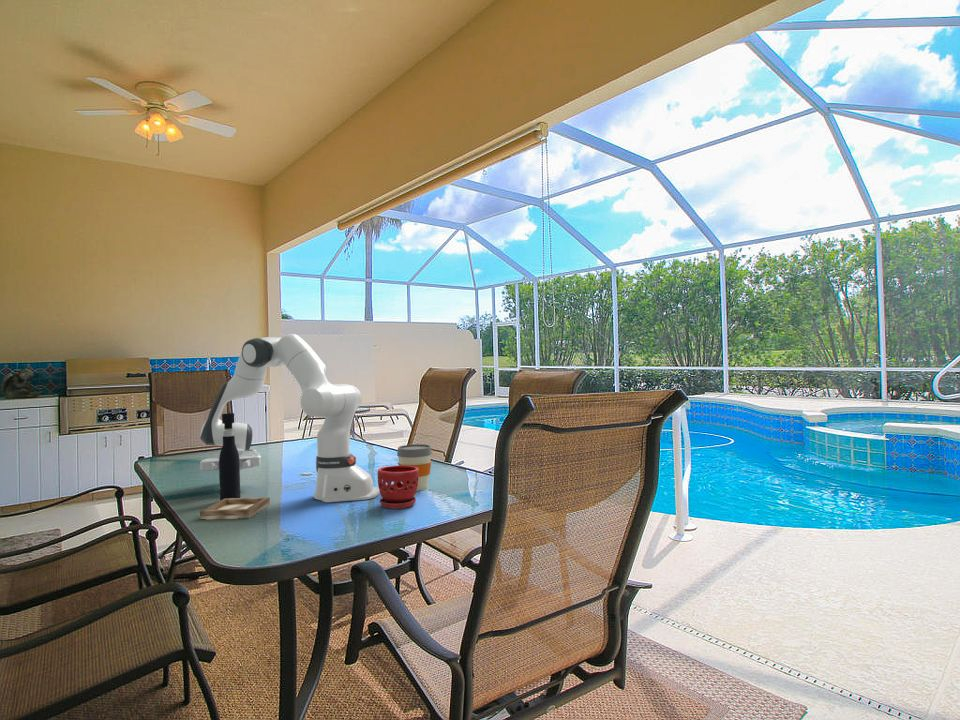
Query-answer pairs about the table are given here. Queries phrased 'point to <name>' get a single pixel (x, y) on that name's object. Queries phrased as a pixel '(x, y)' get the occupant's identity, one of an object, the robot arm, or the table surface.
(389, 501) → the plant pot
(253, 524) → the table surface
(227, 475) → the wine bottle
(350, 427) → the robot arm
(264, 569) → the table surface
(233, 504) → the bottle coaster
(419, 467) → the reusable coffee cup
